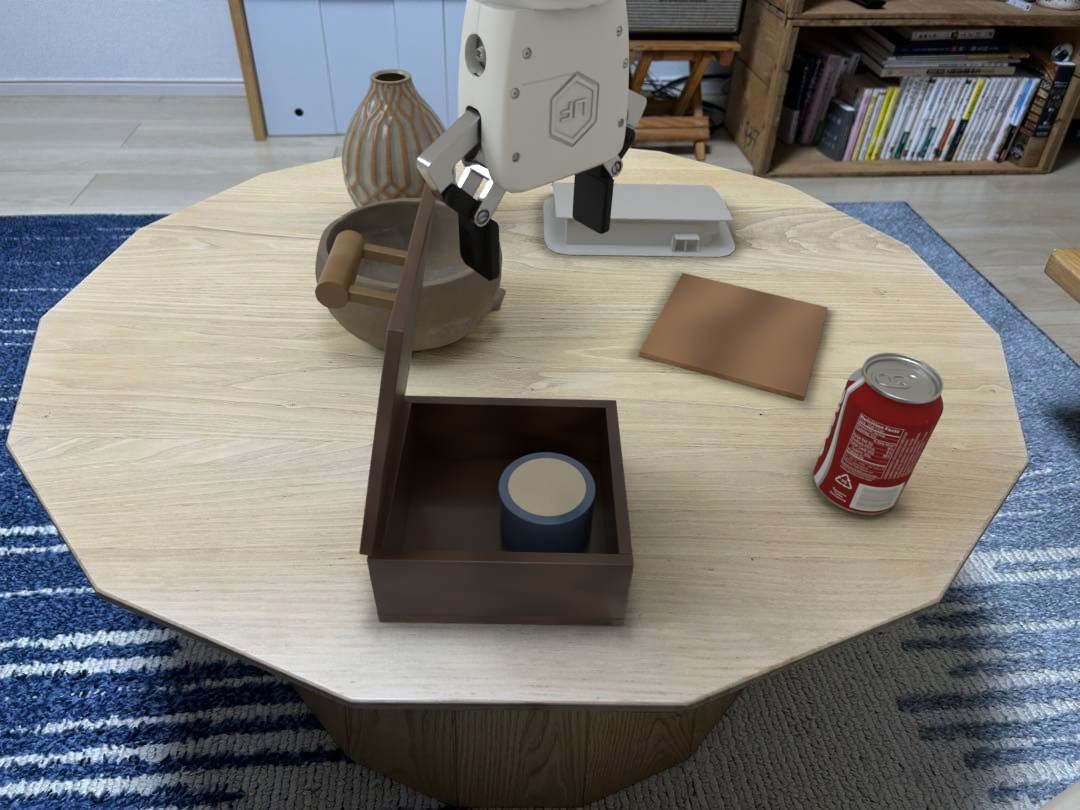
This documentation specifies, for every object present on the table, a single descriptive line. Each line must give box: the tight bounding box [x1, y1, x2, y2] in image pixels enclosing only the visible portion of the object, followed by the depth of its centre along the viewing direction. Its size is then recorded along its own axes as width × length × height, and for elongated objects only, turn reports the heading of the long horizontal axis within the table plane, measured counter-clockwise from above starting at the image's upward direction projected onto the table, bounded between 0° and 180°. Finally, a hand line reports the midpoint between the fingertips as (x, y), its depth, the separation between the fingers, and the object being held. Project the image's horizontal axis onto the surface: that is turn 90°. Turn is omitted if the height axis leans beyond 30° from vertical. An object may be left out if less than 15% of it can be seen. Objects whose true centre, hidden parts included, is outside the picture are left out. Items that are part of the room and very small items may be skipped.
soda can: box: [812, 352, 944, 516], centre depth 59 cm, size 7×7×12 cm
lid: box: [314, 182, 436, 556], centre depth 47 cm, size 18×16×5 cm
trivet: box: [638, 272, 828, 401], centre depth 79 cm, size 16×16×1 cm
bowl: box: [314, 198, 507, 352], centre depth 75 cm, size 17×18×10 cm
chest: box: [366, 395, 635, 627], centre depth 56 cm, size 17×16×7 cm
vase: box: [341, 68, 457, 209], centre depth 89 cm, size 13×13×18 cm
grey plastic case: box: [542, 181, 736, 258], centre depth 94 cm, size 15×23×4 cm, turn 91°
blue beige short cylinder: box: [498, 452, 596, 553], centre depth 56 cm, size 7×7×4 cm
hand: (538, 247), depth 52 cm, fingers open, 9 cm apart
